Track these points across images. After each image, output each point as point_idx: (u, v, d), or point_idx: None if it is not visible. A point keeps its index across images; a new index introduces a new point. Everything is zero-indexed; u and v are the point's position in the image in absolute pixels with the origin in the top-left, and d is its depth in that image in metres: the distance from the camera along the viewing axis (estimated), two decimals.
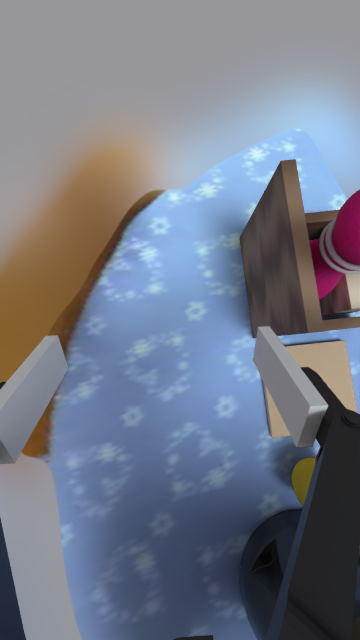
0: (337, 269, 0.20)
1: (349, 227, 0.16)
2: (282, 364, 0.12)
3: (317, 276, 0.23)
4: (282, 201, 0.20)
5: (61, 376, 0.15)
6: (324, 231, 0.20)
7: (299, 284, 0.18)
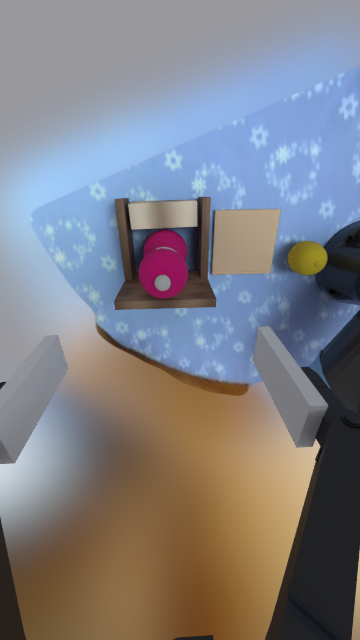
0: None
1: None
2: (282, 364, 0.12)
3: None
4: None
5: (61, 376, 0.15)
6: None
7: (188, 307, 0.33)
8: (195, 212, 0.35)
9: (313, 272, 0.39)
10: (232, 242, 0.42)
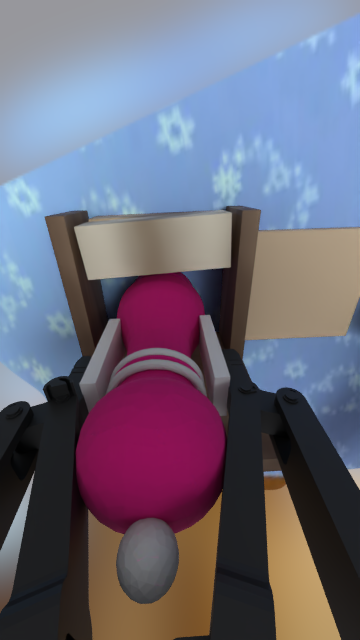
0: None
1: None
2: (207, 345, 0.14)
3: None
4: None
5: (122, 355, 0.17)
6: None
7: None
8: (227, 238, 0.16)
9: None
10: (285, 288, 0.23)
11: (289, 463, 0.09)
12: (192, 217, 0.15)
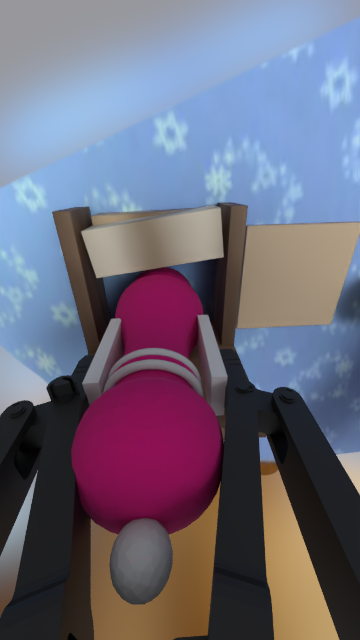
0: None
1: None
2: (204, 345, 0.14)
3: None
4: None
5: None
6: None
7: None
8: (218, 231, 0.17)
9: None
10: (273, 279, 0.25)
11: (286, 462, 0.09)
12: (185, 214, 0.17)
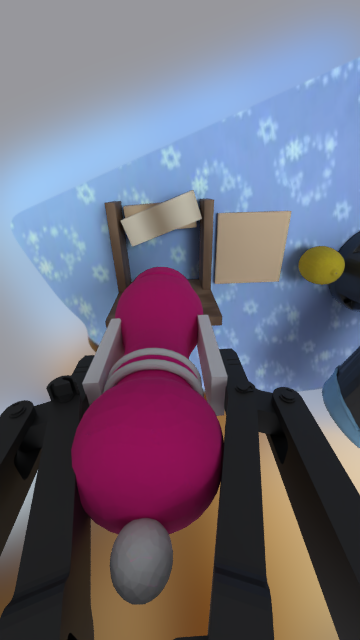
0: None
1: None
2: (204, 345, 0.14)
3: None
4: None
5: None
6: None
7: None
8: (195, 203, 0.30)
9: (329, 281, 0.35)
10: (237, 248, 0.38)
11: (286, 462, 0.09)
12: (174, 198, 0.30)
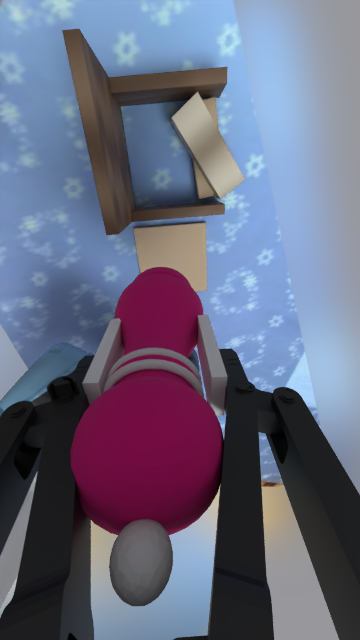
0: None
1: None
2: (204, 345, 0.14)
3: None
4: None
5: None
6: None
7: (97, 192, 0.22)
8: (233, 186, 0.29)
9: None
10: (173, 248, 0.38)
11: (286, 462, 0.09)
12: (233, 160, 0.28)
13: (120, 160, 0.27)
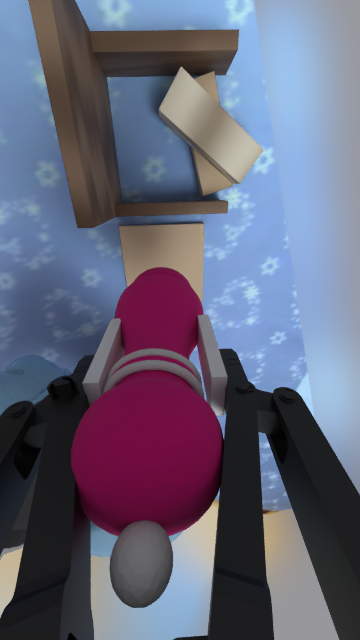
0: None
1: None
2: (204, 345, 0.14)
3: None
4: None
5: None
6: None
7: (65, 170, 0.17)
8: (251, 163, 0.24)
9: None
10: (165, 251, 0.32)
11: (286, 462, 0.09)
12: (244, 131, 0.23)
13: (102, 138, 0.22)
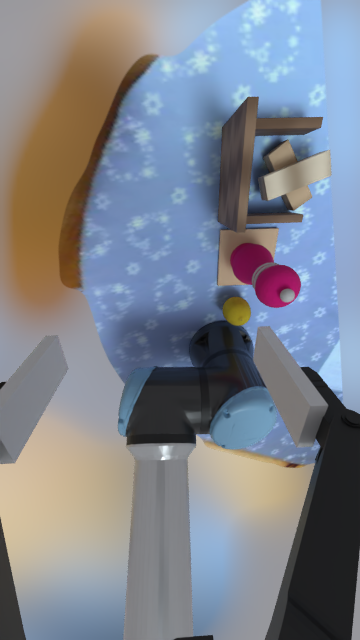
0: None
1: None
2: (282, 364, 0.12)
3: None
4: (242, 133, 0.28)
5: (61, 376, 0.15)
6: None
7: (238, 202, 0.31)
8: (328, 162, 0.36)
9: (232, 318, 0.47)
10: None
11: None
12: (313, 157, 0.36)
13: None
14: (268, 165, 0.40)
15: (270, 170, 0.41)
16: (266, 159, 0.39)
